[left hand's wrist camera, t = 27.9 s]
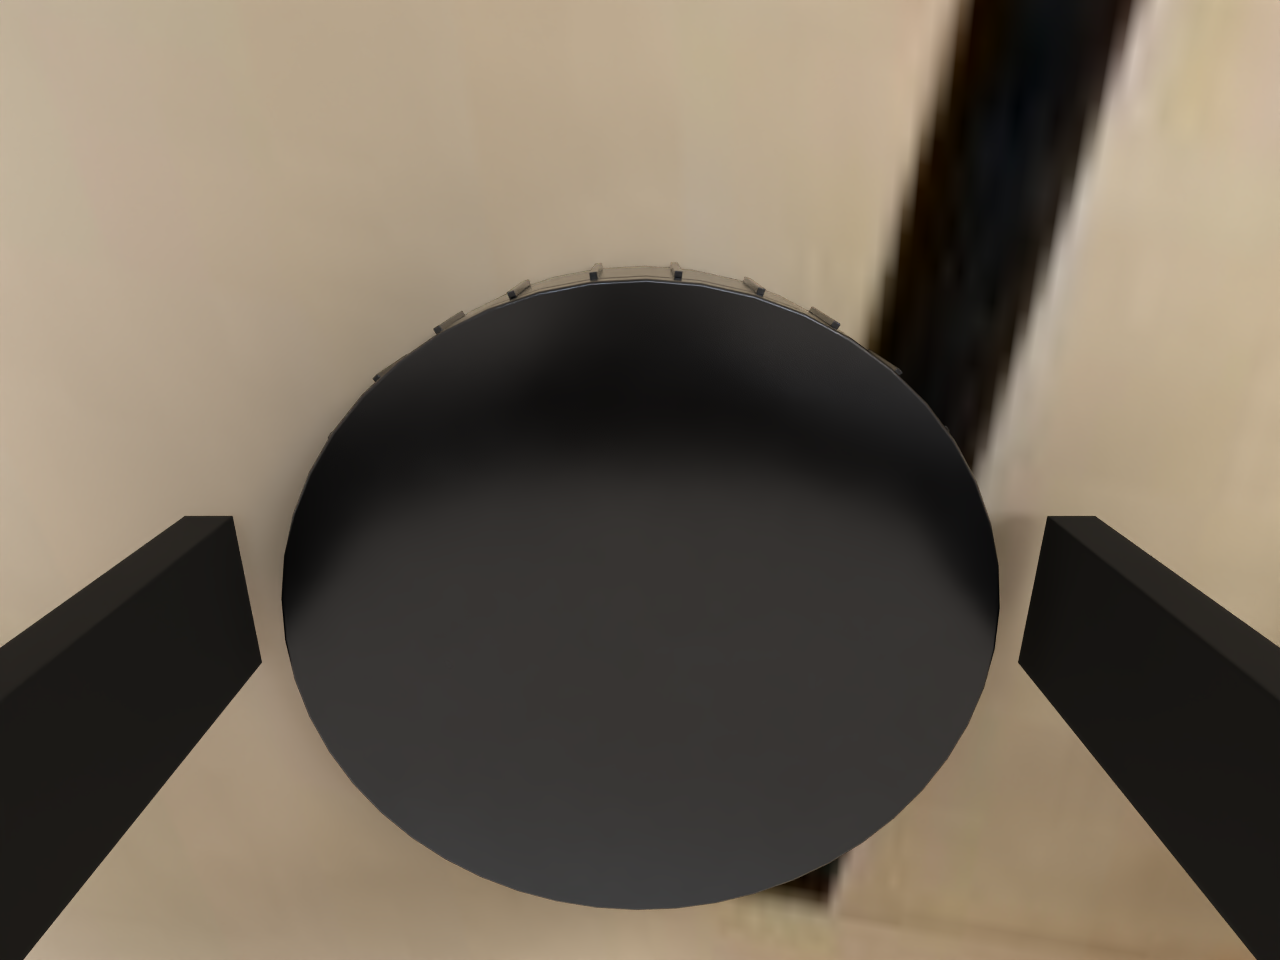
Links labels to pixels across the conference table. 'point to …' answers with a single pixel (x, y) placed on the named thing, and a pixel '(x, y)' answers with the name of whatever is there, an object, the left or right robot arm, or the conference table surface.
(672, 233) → the conference table surface
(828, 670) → the lid
